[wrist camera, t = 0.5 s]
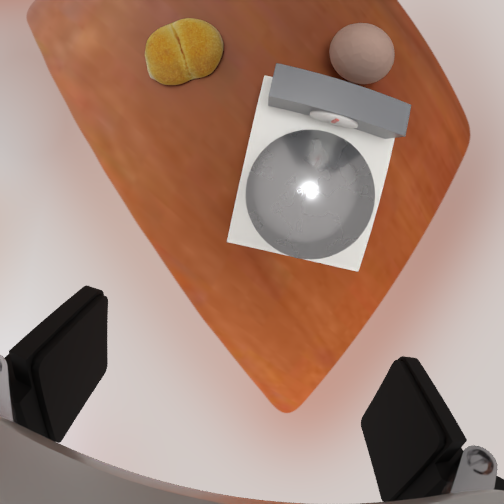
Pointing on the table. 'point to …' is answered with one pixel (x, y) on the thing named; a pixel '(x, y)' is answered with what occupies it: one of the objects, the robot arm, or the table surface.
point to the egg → (362, 53)
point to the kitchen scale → (325, 119)
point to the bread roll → (183, 51)
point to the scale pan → (310, 194)
